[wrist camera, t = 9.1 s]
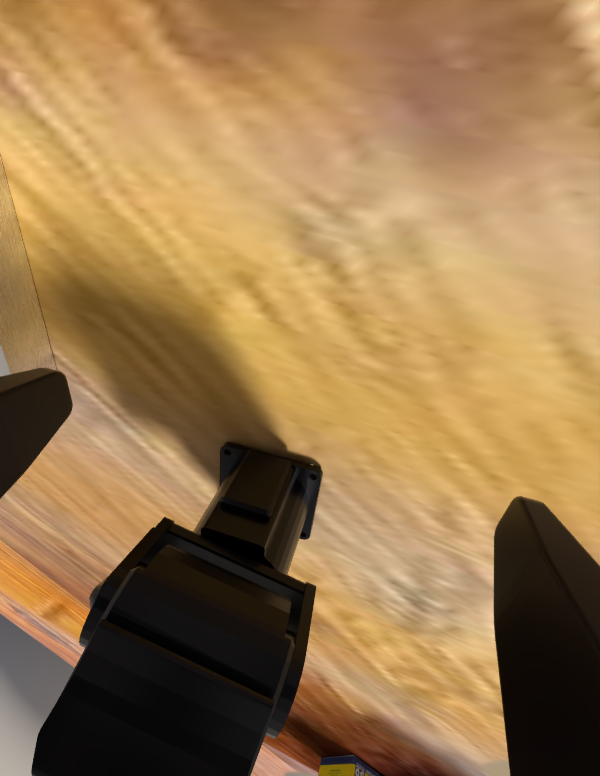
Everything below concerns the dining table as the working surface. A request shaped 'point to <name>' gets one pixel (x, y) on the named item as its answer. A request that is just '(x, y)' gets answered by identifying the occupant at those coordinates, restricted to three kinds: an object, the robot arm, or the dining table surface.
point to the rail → (18, 299)
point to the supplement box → (345, 767)
